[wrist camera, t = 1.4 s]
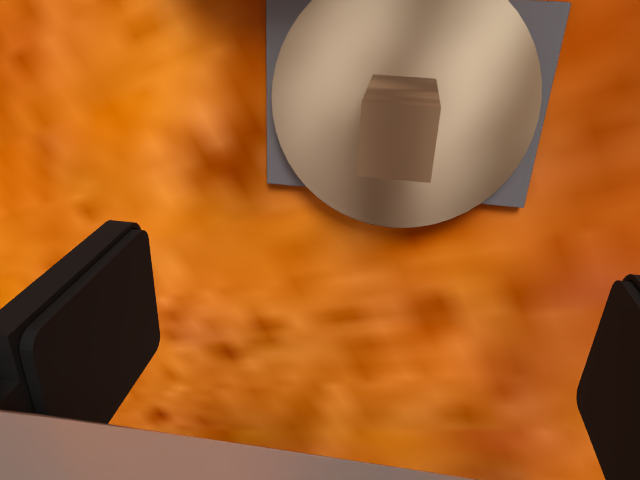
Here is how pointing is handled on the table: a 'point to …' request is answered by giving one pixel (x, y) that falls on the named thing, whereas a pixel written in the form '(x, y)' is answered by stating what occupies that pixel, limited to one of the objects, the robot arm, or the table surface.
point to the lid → (406, 105)
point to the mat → (547, 36)
